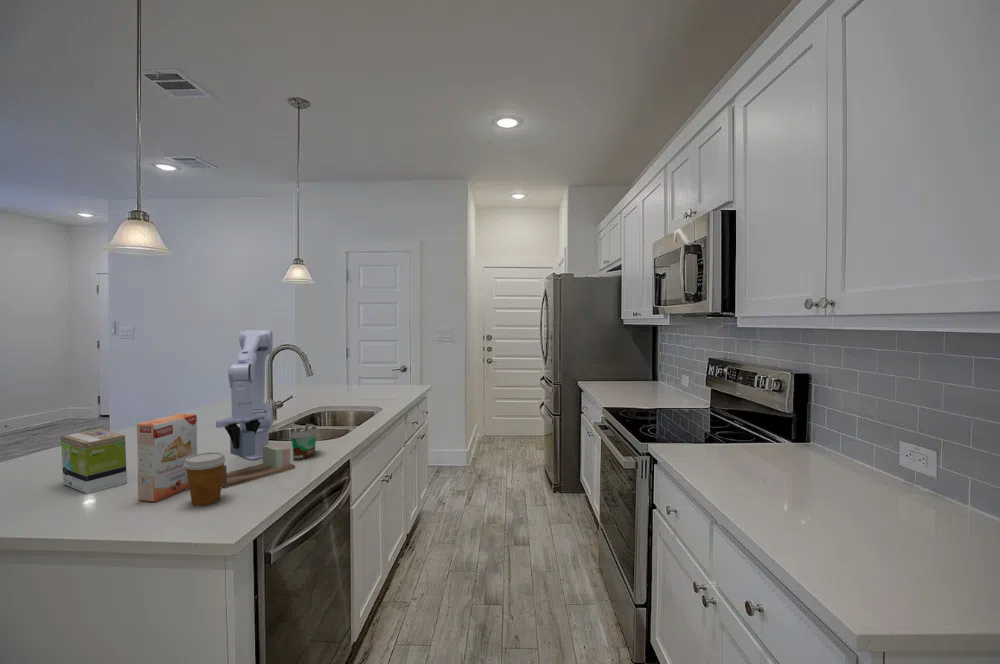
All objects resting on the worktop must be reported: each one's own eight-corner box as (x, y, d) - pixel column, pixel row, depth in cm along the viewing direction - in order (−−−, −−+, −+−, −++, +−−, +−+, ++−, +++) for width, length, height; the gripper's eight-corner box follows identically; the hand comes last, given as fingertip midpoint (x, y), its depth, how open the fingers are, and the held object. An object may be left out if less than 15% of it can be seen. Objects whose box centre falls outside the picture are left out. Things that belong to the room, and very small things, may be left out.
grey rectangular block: (230, 453, 148) (229, 430, 148) (242, 450, 151) (241, 428, 151) (243, 457, 144) (242, 434, 143) (255, 454, 146) (254, 431, 146)
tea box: (61, 485, 139) (59, 435, 138) (102, 475, 148) (101, 427, 147) (86, 495, 132) (84, 441, 131) (128, 483, 141) (126, 433, 140)
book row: (263, 464, 155) (262, 446, 155) (276, 460, 159) (276, 442, 159) (276, 469, 151) (276, 450, 150) (290, 465, 154) (289, 446, 154)
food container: (309, 461, 161) (309, 432, 161) (291, 461, 161) (291, 432, 161) (324, 451, 173) (323, 423, 173) (307, 451, 173) (306, 423, 173)
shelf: (206, 481, 142) (206, 461, 142) (277, 462, 160) (277, 444, 160) (223, 488, 137) (222, 467, 136) (294, 468, 154) (294, 449, 154)
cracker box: (156, 503, 126) (153, 424, 125) (137, 501, 127) (134, 423, 127) (199, 484, 140) (197, 413, 139) (182, 483, 141) (180, 412, 140)
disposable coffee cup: (235, 496, 131) (234, 453, 130) (204, 510, 121) (203, 463, 121) (207, 493, 133) (206, 450, 133) (175, 506, 124) (174, 460, 124)
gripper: (223, 407, 138) (224, 454, 139) (272, 400, 150) (273, 443, 151) (212, 405, 142) (213, 450, 143) (260, 398, 154) (261, 440, 155)
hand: (243, 446), depth 147 cm, fingers closed on grey rectangular block, 3 cm apart
